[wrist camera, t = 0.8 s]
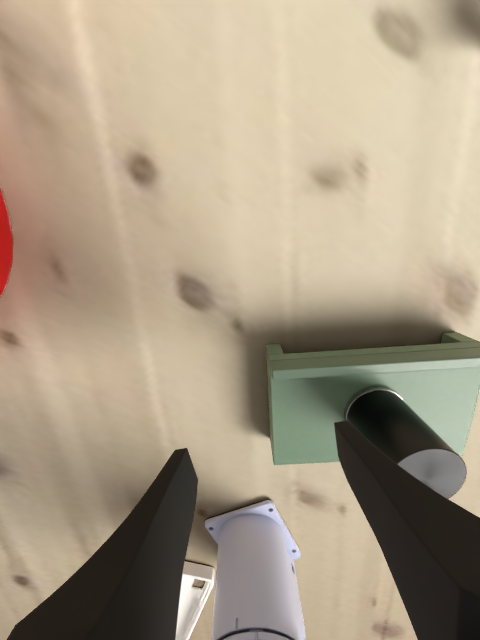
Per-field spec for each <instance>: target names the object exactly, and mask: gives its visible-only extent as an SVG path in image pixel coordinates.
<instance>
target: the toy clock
mask: <svg viewBox="0 0 480 640" xmlns="http://www.w3.org/2000/svg"><path fill="white" fill-rule="evenodd" d="M12 258H13V236H12V229H11V222H10V215H9V212H8V209H7V205H6V202H5V199H4V195H3V192H2V189H1V187H0V298H1V296H2V294H3V292H4V290H5V287H6V285H7V283H8V279H9V275H10V271H11V266H12Z"/></svg>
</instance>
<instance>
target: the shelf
mask: <svg viewBox="0 0 480 640" xmlns="http://www.w3.org/2000/svg"><path fill="white" fill-rule="evenodd" d="M266 358H267V380H268V402H269V424H270V441H271V448H272V455H273V462H274V465H285V464H303V463H322V462H340V460H339V457H338V451H337V443H336V435H335V427H334V423H335V422H340V421H345V418H344V410H345V407H346V404H347V402H348V401H349V399H350V398H351V397H352V396H353V395H354V394H355V393H357V392H358V391H360V390H362V389H364V388H367V387H371V386H384V387H388V388H391V389H393V390H394V391H396V392H397V393H398V394H399V395H400V396H401V397H402V398H403V400H404V402H405V403H406V404H407V405H408V406H409V407H410V408H411V409H412V410H413V411H414V412H415V413H416V414H417V415H418V416H419V417H420V418H421V419H422V420H423V421H424V422H425V423H426V424H427V425H429V426H430V427H431V428H432V429H433V430H434V431H435V432H436V433H437V434H438V435H439V436H440V437H441V438H442V439H443V440H444V441H445V442H446V443H447V444H448V445H449V446H450V447H451V448H452V449H453V450H454V451H455V452H456V453H457V454H458V455H464V451H465V446H466V442H467V438H468V434H469V430H470V426H471V422H472V418H473V414H474V410H475V406H476V402H477V398H478V394H479V390H480V342H479V341H476V340H474V339H471V338H469V337H467V336H464V335H462V334H460V333H457V332H452V333H443V334H442V339H441V344H428V345H413V346H397V347H382V348H366V349H351V350H336V351H320V352H305V353H289V354H283V351H282V348H281V346H280V344H269V345H266Z"/></svg>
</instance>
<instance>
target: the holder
mask: <svg viewBox="0 0 480 640" xmlns="http://www.w3.org/2000/svg"><path fill="white" fill-rule="evenodd" d="M344 418H345V421H346V420H347V421H349V422H350V423H351V424H352V425H353V426H354V427H355V428H356V429H357V430H358V431H359V432H360V433H361V434H362V435H363V436H365V437H366V438H367V439H368V440H369V441H370V442H371V443H372V444H373V445H375V446H376V447H377V448H378V449H379V450H381V451H382V452H383V453H384V454H385V455H386V456H388V457H389V458H390V459H391V460H393V461H394V462H395V463H396V464H398V465H399V466H400V467H402V468H403V469H404V470H406V471H407V472H408V473H410V474H411V475H412V476H414V477H415V478H416V479H418V480H419V481H421V482H422V483H424V484H425V485H427V486H428V487H430V488H431V489H433V490H434V491H436V492H437V493H439V494H440V495H442V496H443V497H445V498H447V499H449V498H450V497H452V496H453V495H454V494H455V493H456V492H457V491H458V490H459V489H460V488H461V487H462V485H463V483H464V481H465V478H466V466H465V463H464V461H463V459H462V458H461V457H460V456H459V455H458V454H457V453H456V452H455V451H454V450H453V449H452V448H451V447H450V446H449V445H448V444H447V443H446V442H445V441H444V440H443V439H442V438H441V437H440V436H439V435H438V434H437V433H436V432H435V431H434V430H433V429H432V428H431V427H430V426H429V425H427V424H426V423H425V422H424V421H423V420H422V419H421V418H420V417H419V416H418V415H417V414H416V413H415V412H414V411H413V410H412V409H411V408H410V407H409V406H408V405H407V404H406V403H405V402H404V400H403V398H402V397H401V396H400V395H399V394H398V393H397V392H396V391H394V390H393V389H391V388H388V387H384V386H371V387H367V388H364V389H362V390H360V391H358V392H357V393H355V394H354V395H353V396H352V397H351V398H350V399H349V401H348V402H347V404H346V407H345V410H344Z"/></svg>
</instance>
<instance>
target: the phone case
mask: <svg viewBox="0 0 480 640" xmlns="http://www.w3.org/2000/svg"><path fill="white" fill-rule="evenodd" d="M214 572H215V570H214V568H213V567H210V566H205V565H200V564H196V563H191V562H187V561H185V562H184V568H183V574H182V582H181V591H180V599H179V608H178V618H177V628H176V639H175V640H188V639H189V637H190V635H191V633H192V631H193V628H194V626H195V624H196V622H197V620H198V618H199V615H200V613H201V611H202V609H203V607H204V605H205V602H206V600H207V598H208V596H209V594H210V591H211V589H212V587H213V584H214ZM195 579H199V580H203V581H206V582H205V584H204V586H203V588H198V587H194V586H192V584H193V582H194V580H195Z"/></svg>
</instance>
